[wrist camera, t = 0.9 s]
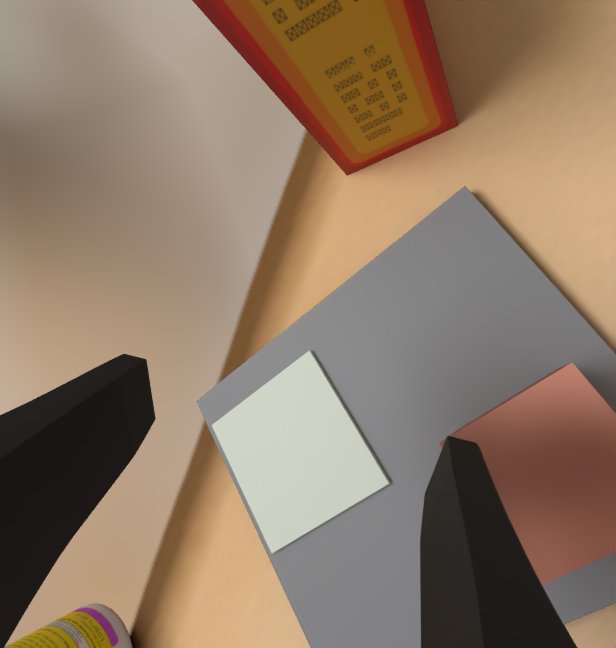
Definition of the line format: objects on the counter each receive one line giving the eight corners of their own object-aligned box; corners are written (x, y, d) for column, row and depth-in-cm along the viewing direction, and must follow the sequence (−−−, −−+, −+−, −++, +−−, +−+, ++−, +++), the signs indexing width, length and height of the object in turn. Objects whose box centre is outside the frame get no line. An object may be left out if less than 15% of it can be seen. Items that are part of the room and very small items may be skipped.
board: (764, 527, 16) (879, 598, 11) (349, 702, 22) (293, 803, 17) (467, 193, 23) (448, 136, 17) (206, 400, 29) (133, 405, 23)
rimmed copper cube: (647, 472, 17) (700, 514, 12) (533, 529, 19) (535, 588, 13) (559, 367, 19) (572, 362, 14) (461, 426, 20) (438, 443, 15)
